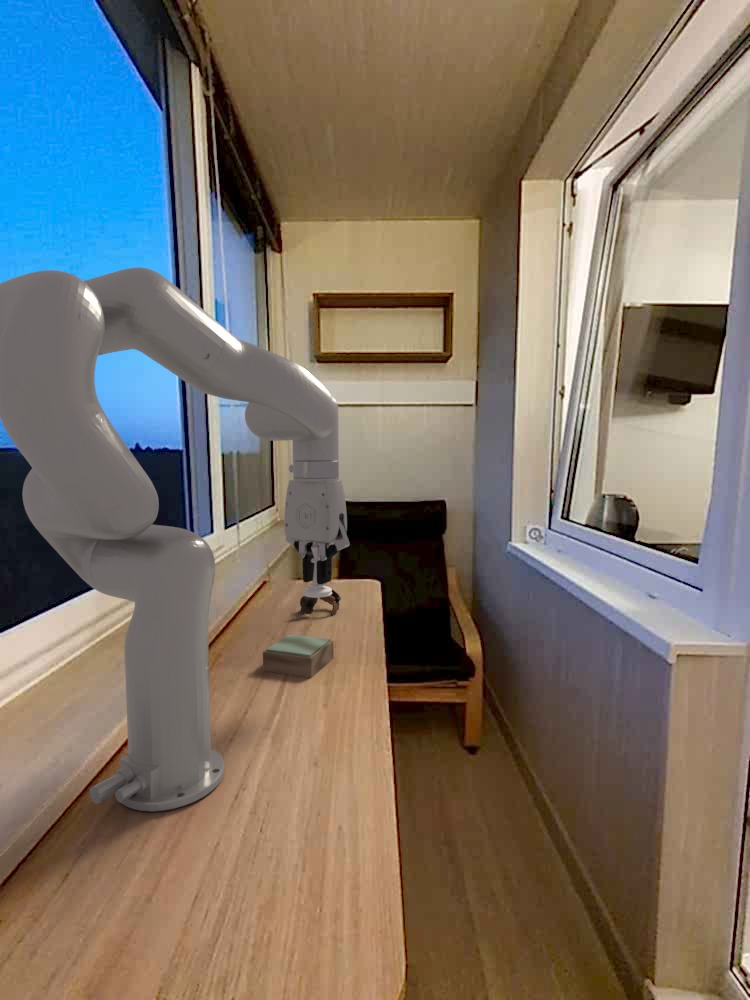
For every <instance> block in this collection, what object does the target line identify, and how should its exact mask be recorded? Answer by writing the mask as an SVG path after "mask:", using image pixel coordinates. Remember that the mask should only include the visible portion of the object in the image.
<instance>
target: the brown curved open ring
mask: <svg viewBox="0 0 750 1000" xmlns="http://www.w3.org/2000/svg"><path fill="white" fill-rule="evenodd" d="M323 586H326V585H325V584H324V585H323ZM319 599H320V600H321V601H323V602H325V603H328V604H329V605H330V606H332V609H331V611H330V614H331V615H332V616H335V615H336V614H337V612H338V611H339V610H340V601H341V599H342V597H341V596H340V594H339V593H337V591H335V590H334V589H332V594H331V595H330V596H326V597H319V598H313V597H306V596H304V595H302V596H301V598H300V600H299V605H300V613H301V615H302V616H304V615H305V614H307V615H311V614H312V613H313V610H314V608H315V606H316V604H317V602H318V600H319Z"/></svg>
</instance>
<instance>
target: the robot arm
mask: <svg viewBox="0 0 750 1000" xmlns="http://www.w3.org/2000/svg"><path fill="white" fill-rule="evenodd" d="M129 350H137V351H138V352H140V353H142V354H144V355H145V356H146V357H148V358H150V360H152V361H153V362H155V363H156V364H159V365H160V366H161V367H163V368H164V369H166V370H167V371H169V372H171V373H172V374H173V375H175V376H177V377H178V378H179V379H181V380H182V381H183V382H185V383H187V384H188V385H189V386H190V387H192V388H193V389H195V390H196V391H199V392H200V393H203V394H205V395H209V396H213V397H215V398H216V397H217V398H221V399H225V400H229V401H236V402H237V401H239V402H244V403H246V402H247V404H246V407H245V411H244V418H245V419H244V420H245V423H246V426H247V427H248V429H249V430H250V431H249V432H251V433H252V434H253V435H254V436H256V437H258V438H260V439H262V440H265V441H272V442H273V441H275V442H276V441H279V442H280V441H283V442H284V441H292V464H289V466H288V471H289V473H292V480H291V479H290V480H289V481H288V485H287V488H286V496H285V502H284V503H285V504H284V521H283V523H284V528H283V529H284V535H285V541H286V543H288V544H290V545H291V546H293V547H294V548H295V550H296V551H297V552H298V557H299V558H300V559H302V581H303V583H310V582H313V574H314V563H312V562H311V560H312V559H314V556H313V552H312V550H311V546H313V545H315V542H318V543H319V557H320V560H318V561H317V583H318V584H320V585H322V584H324V585H325V584H327V583H330V582H331V581H332V575H333V572H332V571H333V568H332V567H333V566H332V565H333V563H332V560H333V559H334V558H335V556H336V554H338V552H339V551H341V550H343V549H345V548H348V547H350V545H351V544H350V540H349V537H348V535H347V531H348V515H347V513H348V512H347V505H346V496H345V491H344V490H345V489H344V485H343V481H342V480H340V475H339V474H340V470H339V469H340V468H339V465H340V461H339V460H340V459H339V457H340V456H339V445H340V444H339V404H338V402H337V400H336V399H335V398H334V397H333V396H332V394H331V392H329V390H328V389H327V387H325V386H324V384H323V383H321V382H320V380H318V379H317V378H316V377H315V376H314V375H312V374H311V373H310V371H308V370H307V369H305V368H304V367H302V366H301V365H300V364H298V363H296V362H295V361H292V360H290V359H288V358H286V357H284V356H282V355H280V354H276V353H274V352H272V351H270V350H267V349H265V348H263V347H261V346H258V345H255V344H253V343H251V342H247V341H244V340H242V339H239V338H238V337H236V336H235V335H234V334H232V333H231V331H229V330H227V328H225V327H224V326H223V325H222V324H220V323H219V321H217V320H216V319H214V317H212V315H210V314H209V313H208V312H207V311H206V310H205V309H203V308H202V307H201V306H199V305H198V304H197V303H196V301H194V300H193V299H192V298H190V297H189V296H188V295H187V294H185V293H184V292H183V291H182V290H181V289H180V288H179V287H177V285H175V284H174V283H173V282H171V280H169V279H168V278H166V277H165V276H164V275H162V274H161V273H159V272H157V271H155V270H153V269H150V268H147V267H129V268H125V269H120V270H117V271H113V272H110V273H106V274H103V275H99V276H96V277H93V278H89V279H86V280H83V279H82V278H80V277H78V276H77V275H74V274H72V273H70V272H66V271H61V270H54V269H53V270H52V269H51V270H39V271H34V272H29V273H24V274H22V275H19V276H18V275H17V276H16V277H13V278H11V279H7V280H6V281H3V282H0V421H1V423H2V426H3V427H4V428H3V429H5V431H6V434H7V436H8V437H9V438H10V439H11V441H12V442H13V445H15V447H16V448H17V450H18V451H19V453H20V454H21V455H22V456H23V457H24V459H25V460H26V461H27V463H28V464H29V465H30V467H31V469H30V471H29V472H28V474H27V475H26V476H25V479H24V481H23V486H22V502H23V506H24V510H25V513H26V515H27V517H28V519H29V521H30V522H31V524H32V525H33V526H34V528H35V529H36V530H37V531H38V532H39V534H40V535H41V536H42V538H44V539H45V540H46V542H47V543H48V544H49V545H50V546H51V547H52V548H53V549H54V551H56V553H58V555H59V556H60V557H61V558H62V559H63V560H64V562H66V564H68V566H69V567H70V568H71V569H72V570H73V571H74V572H75V573H76V574H77V575H78V576H79V578H80V579H82V580H83V581H84V582H85V583H86V584H87V585H89V586H90V587H91V588H92V589H94V590H95V591H97V592H99V593H101V594H104V595H106V596H110V597H113V598H118V599H123V600H128V601H130V602H132V603H134V609H133V613H132V615H131V617H130V620H129V623H128V627H127V629H126V633H125V636H124V637H125V638H124V645H123V647H124V666H125V667H124V670H125V673H124V674H125V696H126V700H125V701H126V721H127V722H126V723H127V724H126V725H127V726H126V727H127V748H128V749H127V752H128V753H127V754H125V755H123V756H122V757H120V758H119V764H120V767H119V768H118V769H117V770H115V771H114V773H113V775H112V776H110V777H108V778H105V779H103V780H102V781H100V782H98V783H97V784H95V785H93V786H91V787H90V788H89V797H90V800H91V801H92V802H93V803H94V804H95V805H98V804H100V803H102V802H104V801H105V800H107V799H108V798H110V797H112V796H114V795H115V799H116V801H117V802H118V803H120V804H122V805H123V806H125V807H128V808H130V809H132V810H136V811H141V812H163V811H168V810H174V809H178V808H181V807H185V806H187V805H190V804H192V803H194V802H197V801H199V800H200V799H202V798H204V797H206V796H207V795H208V794H210V793H211V792H212V791H213V790H214V789H215V788H216V787H218V786H219V784H220V783H221V781H222V780H223V777H224V775H225V762H224V758H223V756H222V755H221V754H220V753H219V752H218V751H217V750H215V749H213V748H212V740H211V739H212V737H211V732H212V731H211V698H210V697H211V696H210V657H209V655H210V654H209V653H210V652H209V651H210V650H209V618H210V617H209V616H210V606H211V598H212V594H213V593H212V592H213V587H214V583H215V576H216V561H215V560H216V559H215V555H214V553H213V549H212V548H211V546H210V545H209V543H208V542H206V540H205V539H204V538H203V537H201V536H200V534H199V535H198V534H197V533H195V532H193V531H191V530H187V529H186V528H181V527H175V526H169V525H159V524H154V522H155V521H156V519H157V517H158V515H159V514H158V513H159V509H160V508H159V507H160V506H159V505H160V503H159V495H158V492H157V490H156V488H155V486H154V484H153V481H152V480H151V479H150V477H149V476H148V474H147V472H146V471H145V470H144V469H143V467H142V466H141V464H140V463H139V461H138V460H137V458H136V457H135V456H134V453H132V452H131V450H130V448H129V447H128V446H127V445H126V443H125V441H124V440H123V438H122V437H121V436H120V434H119V433H118V432H117V430H116V429H115V427H114V426H113V425H112V423H111V421H110V419H109V418H108V416H107V414H106V413H105V411H104V409H103V407H102V406H101V404H100V401H99V399H98V395H97V392H96V391H97V390H96V384H95V371H96V365H97V360H98V357H99V356H102V355H106V354H112V353H117V352H118V353H119V352H124V351H129ZM335 540H336V541H335Z"/></svg>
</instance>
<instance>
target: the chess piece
mask: <svg viewBox="0 0 750 1000" xmlns="http://www.w3.org/2000/svg"><path fill="white" fill-rule="evenodd" d="M311 550H312V552H313V556H314V559H312V560H311V562H312V563H314V574H313V581H311V582H312V583H310V586H307V587H305V588H304V589H303V592H302V596H306V597H313V598H318V599H319V598H320V597H326V596H330V595H331V594H332V590H333V588H331V587H330V586H327V585H325V584H322V585H320V584H318V583H317V561H318V560H320V557H319V543H318V542H315V545H313V546H311ZM323 585H325V586H323Z"/></svg>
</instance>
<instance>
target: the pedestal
mask: <svg viewBox="0 0 750 1000" xmlns="http://www.w3.org/2000/svg"><path fill="white" fill-rule="evenodd" d="M334 656H335V655H334V640H331V639H330V638H323V637H322V638H321V637H314V636H307V635H297V634H290V633H289V634H288V635H286V636H285V637H283V638H281V639H280V640H278V641H277V642H275V643H274V644H272V645H271V646H269V647H268V648H266V649H265V650H264V651H262V671H265V672H270V673H276V674H277V673H278V674H285V675H292V676H297V677H304V678H313V677H315V675H316V674H318V673H319V672H320V671H321V670H322V669H323V668H324V667H326V666H327V665H328V664H329V663H330V662H331V661H332V660H333V659H334Z"/></svg>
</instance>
